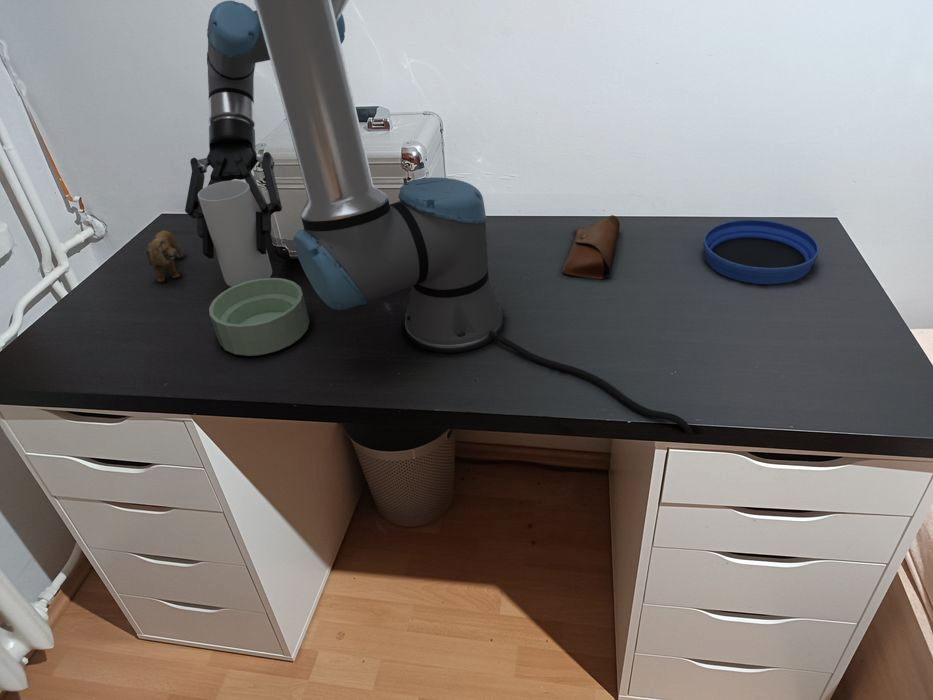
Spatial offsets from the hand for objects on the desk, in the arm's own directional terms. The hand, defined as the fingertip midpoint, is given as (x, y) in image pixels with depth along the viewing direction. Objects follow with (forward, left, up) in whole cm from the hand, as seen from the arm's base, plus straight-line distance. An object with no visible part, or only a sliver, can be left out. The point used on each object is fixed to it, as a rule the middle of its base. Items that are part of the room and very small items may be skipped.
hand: (235, 253), depth 114 cm
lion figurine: (+21, 0, -9) cm, 23 cm away
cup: (+2, -3, -6) cm, 7 cm away
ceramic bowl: (-11, +6, -9) cm, 15 cm away
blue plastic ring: (-72, -51, -9) cm, 89 cm away
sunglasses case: (-46, -41, -9) cm, 62 cm away
